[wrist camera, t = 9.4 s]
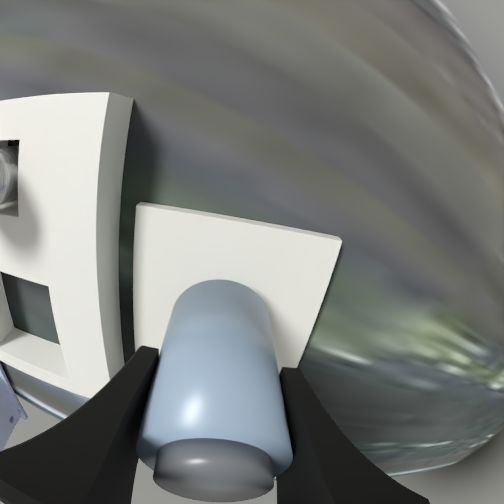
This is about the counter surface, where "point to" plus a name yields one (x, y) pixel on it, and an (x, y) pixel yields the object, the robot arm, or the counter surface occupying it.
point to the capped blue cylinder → (216, 399)
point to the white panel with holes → (66, 233)
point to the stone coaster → (229, 270)
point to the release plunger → (8, 173)
